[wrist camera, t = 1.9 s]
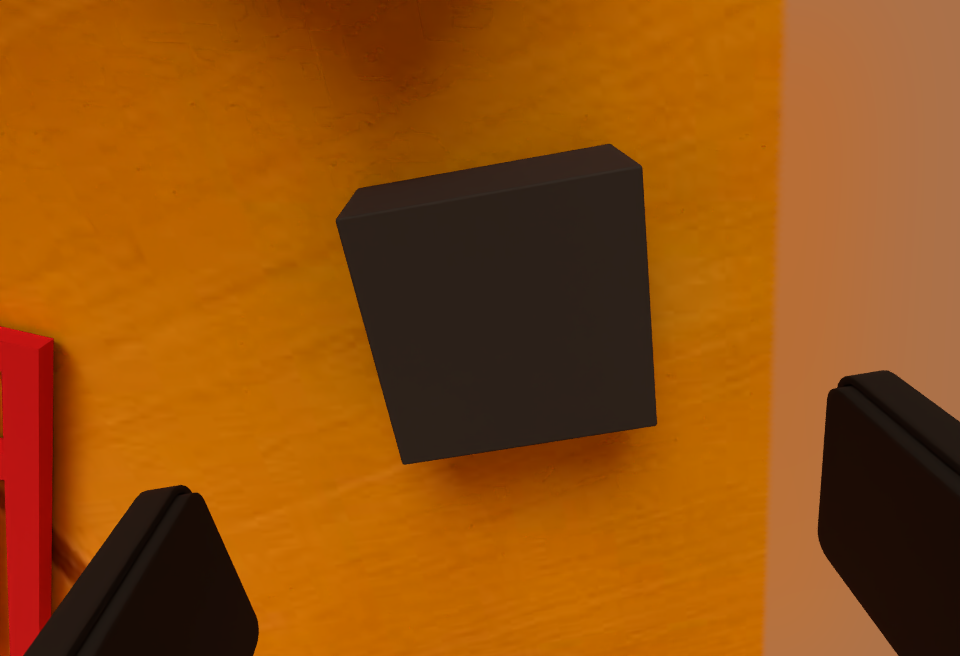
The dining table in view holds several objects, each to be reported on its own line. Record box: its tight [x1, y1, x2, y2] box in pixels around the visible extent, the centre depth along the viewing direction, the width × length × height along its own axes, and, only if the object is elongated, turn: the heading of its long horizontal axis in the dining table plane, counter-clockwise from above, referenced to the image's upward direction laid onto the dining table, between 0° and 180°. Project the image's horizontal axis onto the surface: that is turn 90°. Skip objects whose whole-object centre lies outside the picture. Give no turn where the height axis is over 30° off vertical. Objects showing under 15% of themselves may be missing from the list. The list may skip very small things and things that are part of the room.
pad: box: [336, 144, 657, 465], centre depth 16 cm, size 6×6×3 cm
